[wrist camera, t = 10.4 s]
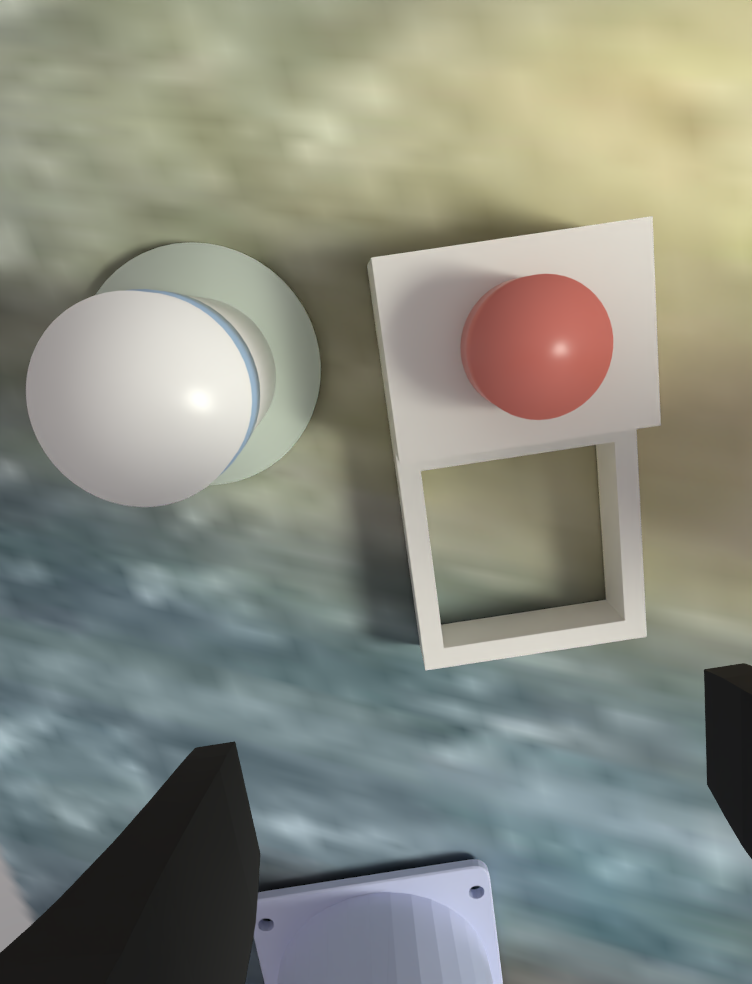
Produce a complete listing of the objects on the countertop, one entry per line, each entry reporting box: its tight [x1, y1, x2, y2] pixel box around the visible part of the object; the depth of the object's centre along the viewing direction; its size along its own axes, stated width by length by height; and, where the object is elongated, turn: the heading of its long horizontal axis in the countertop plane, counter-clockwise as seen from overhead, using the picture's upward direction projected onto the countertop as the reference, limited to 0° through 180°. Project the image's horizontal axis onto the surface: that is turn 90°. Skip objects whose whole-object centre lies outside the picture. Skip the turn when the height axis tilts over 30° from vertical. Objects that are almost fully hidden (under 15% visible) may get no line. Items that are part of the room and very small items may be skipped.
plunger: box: [460, 274, 613, 420], centre depth 17 cm, size 3×3×4 cm
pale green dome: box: [96, 242, 321, 485], centre depth 19 cm, size 6×6×1 cm
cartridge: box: [26, 289, 276, 507], centre depth 16 cm, size 4×4×6 cm
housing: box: [367, 216, 661, 670], centre depth 19 cm, size 11×6×3 cm, turn 8°
